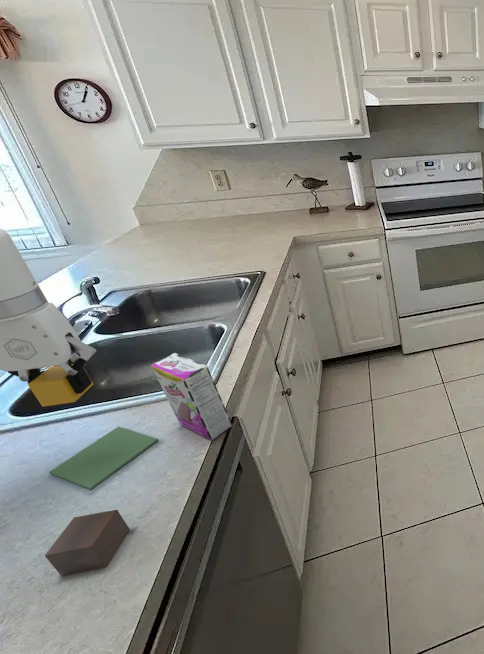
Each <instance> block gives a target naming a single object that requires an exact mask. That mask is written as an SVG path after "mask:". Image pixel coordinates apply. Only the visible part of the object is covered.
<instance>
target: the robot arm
mask: <svg viewBox="0 0 484 654" xmlns="http://www.w3.org/2000/svg"><path fill="white" fill-rule="evenodd" d="M77 353H78V354H79V355H78V354H77ZM96 353H97V349H96V348H94V347H93V346H91V345H88V344H87V343H84V342H83V341H81V339H80V337H79V335H78V333H77V331H76V330H75V328H74V327H73V325H72V324H71V322H70V321H69V320H68V319H67V318H66V316H65V315H64V314H63V313H62V311H60V309H59V308H58V307H57V306H56V305H54V303H53V302H49V301H48V298H46V296H45V294H44V292H43V291H42V289H41V287H40V285H39V283H38V282H37V280H36V278H35V277H34V274H33V273H32V272H31V270H30V268H29V266H28V265H27V263H26V261H25V259H24V258H23V256H22V254H21V253H20V251H19V249H18V247H17V245H16V243H15V242H14V240H13V239H12V237H11V236H10V234H9V233H8V232H7V231H6V230H4V229H2V228H0V370H1V371H4V372H7V373H8V374H10V375H13V376H15V377H18V379H19V380H20V381H21V382H23V383H24V382H25V383H27V385H28V384H29V383H30V382H32V381H33V380H34V379H35V378H37V377H38V376H39V375H40V374H42V373H43V372H44V371H45V370H46V369H45V370H41V369H42V368H49V367H54V366H60V367H61V368H62V369H63V370H64V371H66V372H67V373H68V374H69V375H68V376H67V377H66V378H67V380H68V381H69V383H70V385H71V386H72V388H73V390H74V391H75V393H76V394H80V393H82V392H83V391H84V390H85V389H87V388H88V387H89V386H90V385H91V383H92V382H93V381H91V380H92V379H91V377H90V375H89V374H88V372H87V370H86V368H85V367H86V366H87V364H88V362H89V361H90V359H91V358H92V357H93V356H94V355H95V354H96ZM69 361H71V362H72V363H70V362H69ZM71 364H73V365H71ZM84 368H85V369H84ZM85 370H86V371H85ZM86 372H87V373H86ZM88 375H89V376H88ZM89 377H90V378H89ZM90 379H91V380H90Z"/></svg>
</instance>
